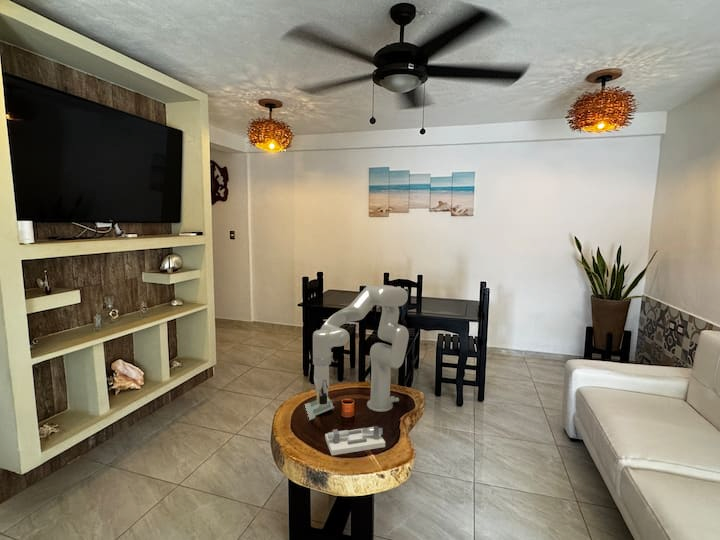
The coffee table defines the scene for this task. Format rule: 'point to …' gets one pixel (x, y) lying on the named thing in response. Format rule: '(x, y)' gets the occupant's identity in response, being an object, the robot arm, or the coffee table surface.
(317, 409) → the metal bracket
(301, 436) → the coffee table surface
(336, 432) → the shaft mount
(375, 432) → the left shaft
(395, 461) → the coffee table surface
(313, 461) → the coffee table surface
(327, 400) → the coupler
